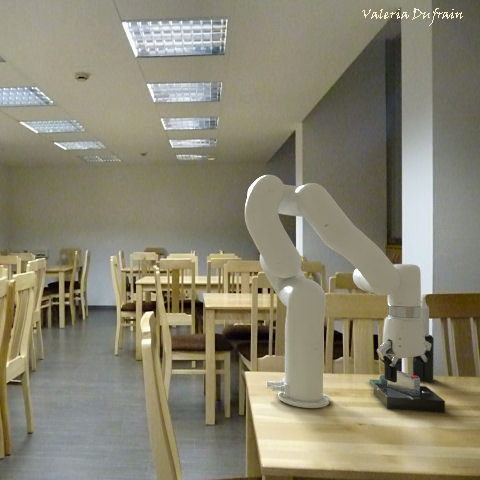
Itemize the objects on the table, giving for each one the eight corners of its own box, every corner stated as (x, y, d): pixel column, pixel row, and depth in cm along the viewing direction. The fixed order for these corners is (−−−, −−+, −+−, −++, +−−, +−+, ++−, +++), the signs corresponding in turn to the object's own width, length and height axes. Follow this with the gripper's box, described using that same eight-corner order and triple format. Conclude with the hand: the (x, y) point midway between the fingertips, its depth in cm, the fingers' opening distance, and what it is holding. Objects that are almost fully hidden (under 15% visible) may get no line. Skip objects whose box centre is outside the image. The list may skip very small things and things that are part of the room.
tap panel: (385, 409, 108) (385, 397, 108) (370, 393, 120) (370, 381, 120) (445, 414, 106) (446, 401, 106) (425, 396, 118) (425, 384, 118)
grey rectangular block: (387, 386, 117) (387, 368, 117) (393, 385, 118) (393, 367, 118) (413, 396, 109) (414, 377, 109) (419, 395, 110) (420, 376, 110)
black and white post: (412, 380, 132) (413, 296, 132) (414, 376, 136) (414, 295, 136) (432, 383, 129) (433, 298, 129) (433, 379, 133) (434, 296, 133)
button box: (377, 392, 121) (378, 381, 121) (369, 383, 129) (369, 373, 129) (417, 395, 119) (417, 384, 119) (406, 385, 127) (406, 375, 127)
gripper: (416, 308, 120) (417, 371, 120) (366, 312, 114) (367, 378, 114) (442, 312, 113) (443, 378, 113) (390, 316, 107) (391, 387, 107)
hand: (405, 378), depth 113 cm, fingers open, 9 cm apart
